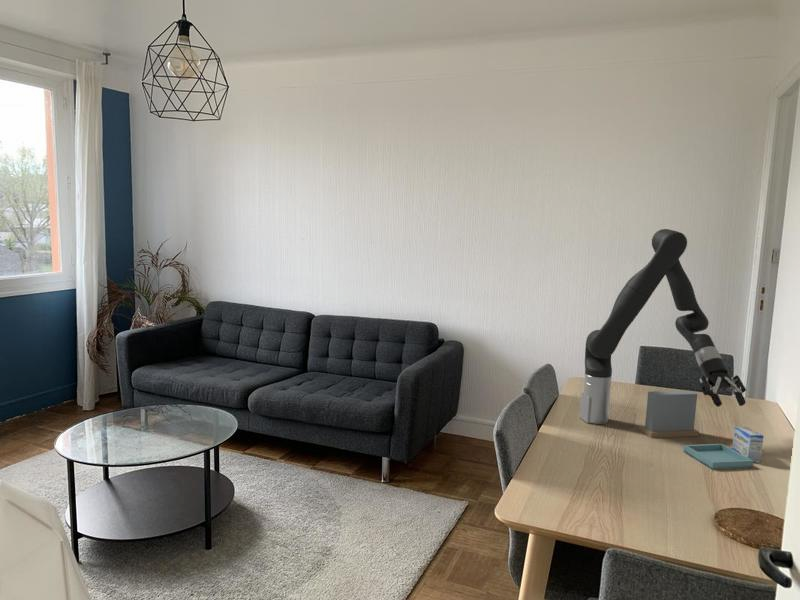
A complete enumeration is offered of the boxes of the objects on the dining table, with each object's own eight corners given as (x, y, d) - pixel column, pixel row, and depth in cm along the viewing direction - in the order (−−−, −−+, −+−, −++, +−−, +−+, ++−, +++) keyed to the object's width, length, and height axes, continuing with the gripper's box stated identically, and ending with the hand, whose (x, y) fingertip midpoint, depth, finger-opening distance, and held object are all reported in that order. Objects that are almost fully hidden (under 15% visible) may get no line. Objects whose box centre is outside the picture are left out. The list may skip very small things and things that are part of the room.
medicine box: (731, 452, 190) (734, 426, 189) (744, 452, 190) (747, 426, 189) (747, 462, 182) (750, 435, 181) (761, 462, 183) (764, 435, 181)
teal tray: (712, 469, 176) (712, 462, 175) (683, 451, 189) (683, 445, 189) (752, 467, 178) (753, 460, 178) (721, 450, 191) (721, 443, 191)
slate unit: (651, 437, 201) (654, 396, 199) (639, 430, 208) (643, 390, 206) (698, 435, 204) (702, 395, 202) (685, 428, 211) (689, 389, 209)
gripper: (697, 357, 198) (718, 400, 189) (735, 356, 201) (757, 399, 191) (686, 368, 204) (705, 411, 195) (723, 367, 207) (743, 409, 197)
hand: (731, 405), depth 193 cm, fingers open, 8 cm apart
